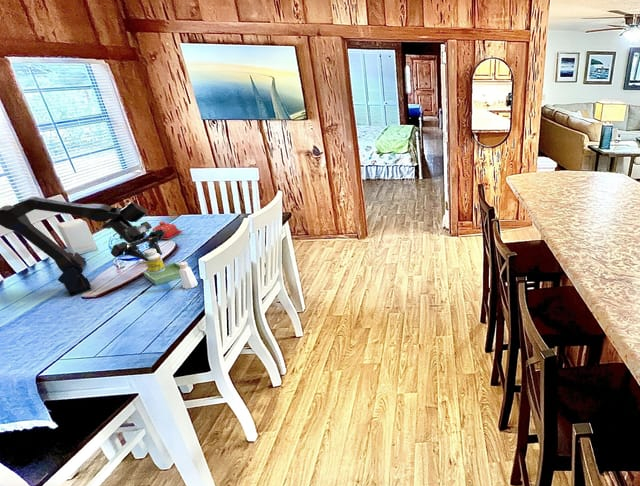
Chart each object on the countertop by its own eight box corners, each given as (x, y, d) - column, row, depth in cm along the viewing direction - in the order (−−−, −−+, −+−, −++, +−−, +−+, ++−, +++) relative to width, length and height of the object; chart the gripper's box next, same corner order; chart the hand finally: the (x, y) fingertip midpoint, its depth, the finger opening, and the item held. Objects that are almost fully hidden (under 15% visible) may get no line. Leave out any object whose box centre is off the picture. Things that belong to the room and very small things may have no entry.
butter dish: (169, 240, 205) (164, 226, 202) (148, 240, 206) (142, 225, 202) (184, 232, 216) (180, 218, 212) (164, 232, 216) (159, 217, 212)
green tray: (156, 285, 164) (154, 280, 163) (145, 277, 171) (143, 271, 169) (188, 274, 174) (187, 269, 173) (176, 266, 180) (175, 261, 179)
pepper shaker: (196, 281, 168) (189, 258, 164) (199, 286, 165) (191, 263, 160) (181, 285, 165) (173, 262, 160) (184, 290, 161) (175, 267, 157)
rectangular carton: (99, 249, 194) (86, 221, 188) (75, 256, 188) (61, 227, 181) (92, 245, 199) (80, 218, 192) (68, 251, 192) (55, 223, 186)
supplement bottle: (165, 266, 168) (158, 246, 164) (164, 271, 164) (157, 251, 159) (150, 269, 165) (142, 249, 161) (148, 274, 161) (140, 254, 157)
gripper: (104, 226, 147) (137, 256, 149) (154, 211, 163) (182, 238, 166) (97, 242, 152) (128, 271, 154) (146, 226, 169) (173, 252, 171)
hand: (154, 257), depth 161 cm, fingers closed on supplement bottle, 5 cm apart
